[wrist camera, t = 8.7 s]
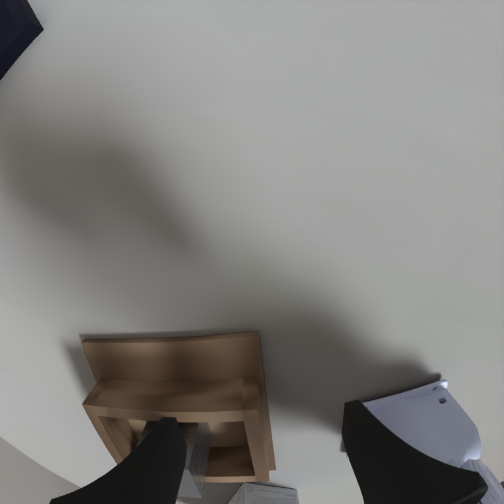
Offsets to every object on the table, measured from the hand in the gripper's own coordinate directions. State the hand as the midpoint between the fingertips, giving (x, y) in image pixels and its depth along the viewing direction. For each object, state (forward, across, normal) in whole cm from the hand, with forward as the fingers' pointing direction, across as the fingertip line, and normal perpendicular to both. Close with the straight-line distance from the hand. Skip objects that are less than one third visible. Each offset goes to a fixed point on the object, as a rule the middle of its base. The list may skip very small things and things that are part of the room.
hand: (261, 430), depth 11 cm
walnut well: (+9, +7, +8) cm, 14 cm away
